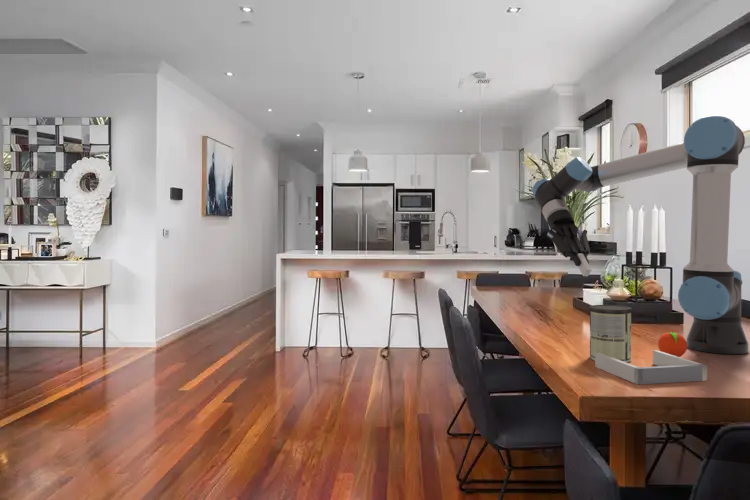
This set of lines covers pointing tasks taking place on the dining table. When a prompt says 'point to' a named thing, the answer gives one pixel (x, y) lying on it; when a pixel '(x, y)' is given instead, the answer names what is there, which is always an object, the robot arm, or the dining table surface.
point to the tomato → (672, 344)
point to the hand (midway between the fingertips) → (587, 273)
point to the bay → (654, 369)
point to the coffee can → (610, 331)
